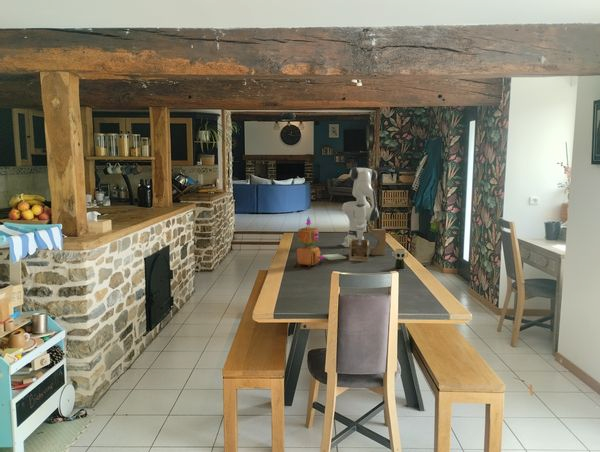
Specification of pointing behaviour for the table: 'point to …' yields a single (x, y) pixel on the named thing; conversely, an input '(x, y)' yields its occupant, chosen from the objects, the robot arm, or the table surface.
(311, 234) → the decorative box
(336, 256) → the sage board
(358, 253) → the walnut block
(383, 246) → the decorative block
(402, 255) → the character mug
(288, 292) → the table surface
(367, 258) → the oak cubby
